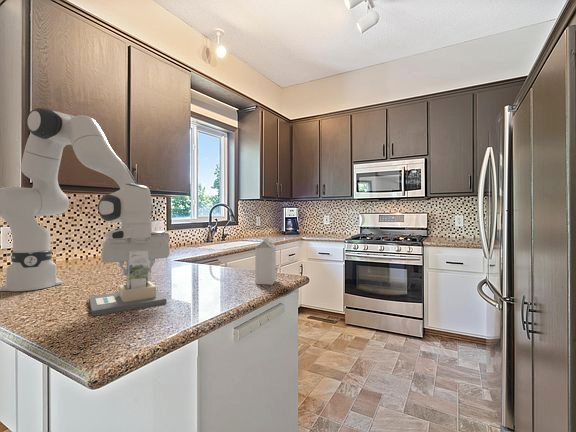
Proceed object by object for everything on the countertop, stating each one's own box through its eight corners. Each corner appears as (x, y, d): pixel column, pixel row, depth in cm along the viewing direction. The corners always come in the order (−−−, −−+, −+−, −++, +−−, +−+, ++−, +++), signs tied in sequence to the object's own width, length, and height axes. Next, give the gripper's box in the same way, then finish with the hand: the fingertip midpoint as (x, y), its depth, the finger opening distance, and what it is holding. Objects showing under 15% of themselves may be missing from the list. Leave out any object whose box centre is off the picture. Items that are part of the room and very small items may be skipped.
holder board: (89, 300, 98) (88, 285, 98) (153, 291, 109) (153, 278, 109) (92, 316, 83) (92, 298, 83) (166, 303, 95) (166, 288, 95)
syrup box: (144, 289, 102) (144, 248, 102) (148, 293, 97) (148, 249, 97) (126, 292, 99) (126, 249, 99) (128, 296, 94) (128, 251, 94)
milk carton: (255, 284, 120) (255, 238, 120) (259, 280, 128) (259, 236, 127) (272, 285, 119) (272, 238, 119) (275, 281, 126) (275, 237, 126)
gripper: (167, 230, 107) (167, 268, 107) (100, 232, 94) (100, 275, 95) (172, 231, 102) (171, 271, 102) (102, 234, 89) (102, 279, 90)
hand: (136, 273), depth 98 cm, fingers closed on syrup box, 5 cm apart
